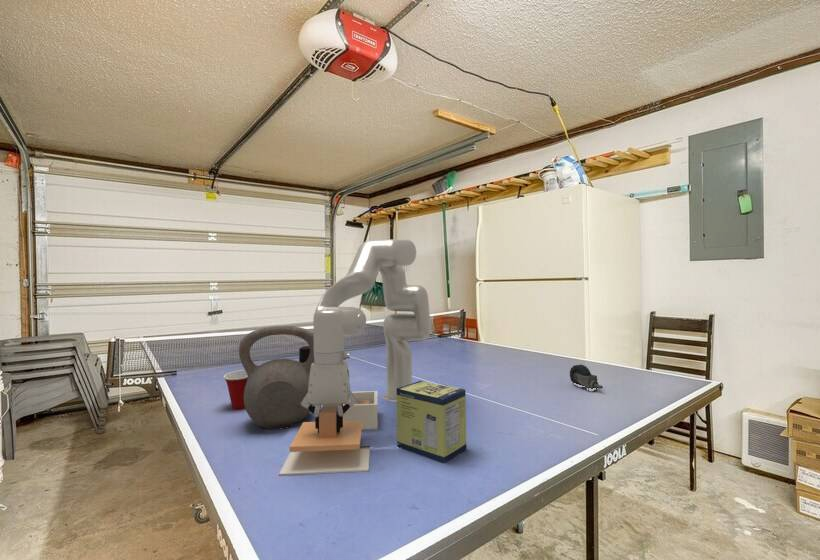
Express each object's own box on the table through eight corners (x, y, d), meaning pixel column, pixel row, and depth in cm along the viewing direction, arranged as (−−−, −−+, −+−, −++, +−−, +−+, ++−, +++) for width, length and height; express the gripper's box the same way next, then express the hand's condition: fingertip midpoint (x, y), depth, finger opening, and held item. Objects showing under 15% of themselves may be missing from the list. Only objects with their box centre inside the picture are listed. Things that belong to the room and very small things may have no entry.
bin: (377, 415, 126) (377, 390, 126) (377, 432, 112) (377, 404, 112) (334, 417, 124) (333, 392, 125) (328, 434, 111) (328, 406, 111)
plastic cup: (216, 409, 133) (216, 374, 133) (243, 400, 143) (242, 368, 143) (237, 414, 128) (237, 377, 128) (263, 404, 138) (263, 371, 138)
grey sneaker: (567, 387, 160) (596, 393, 146) (565, 364, 161) (594, 367, 147) (578, 386, 162) (608, 392, 148) (576, 363, 163) (605, 366, 149)
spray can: (320, 399, 144) (320, 345, 144) (314, 405, 137) (314, 348, 137) (303, 399, 144) (303, 345, 144) (296, 404, 137) (295, 348, 138)
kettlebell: (233, 437, 109) (233, 330, 109) (244, 416, 126) (243, 324, 126) (320, 428, 115) (320, 327, 115) (319, 410, 132) (319, 322, 132)
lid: (362, 424, 106) (362, 398, 106) (359, 449, 90) (359, 418, 90) (303, 426, 105) (303, 400, 105) (289, 452, 89) (289, 420, 89)
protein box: (420, 434, 110) (419, 379, 110) (467, 449, 100) (466, 389, 100) (395, 447, 102) (395, 387, 102) (444, 464, 92) (444, 398, 92)
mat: (370, 436, 108) (370, 435, 108) (368, 471, 89) (368, 469, 89) (297, 439, 107) (297, 438, 107) (279, 475, 87) (279, 473, 87)
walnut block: (369, 415, 123) (369, 399, 123) (369, 422, 117) (369, 405, 117) (350, 416, 122) (350, 400, 122) (349, 423, 116) (349, 406, 116)
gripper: (362, 354, 102) (363, 424, 102) (298, 356, 101) (298, 426, 101) (361, 360, 95) (362, 435, 95) (291, 361, 93) (292, 438, 93)
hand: (329, 430), depth 98 cm, fingers closed on lid, 4 cm apart
